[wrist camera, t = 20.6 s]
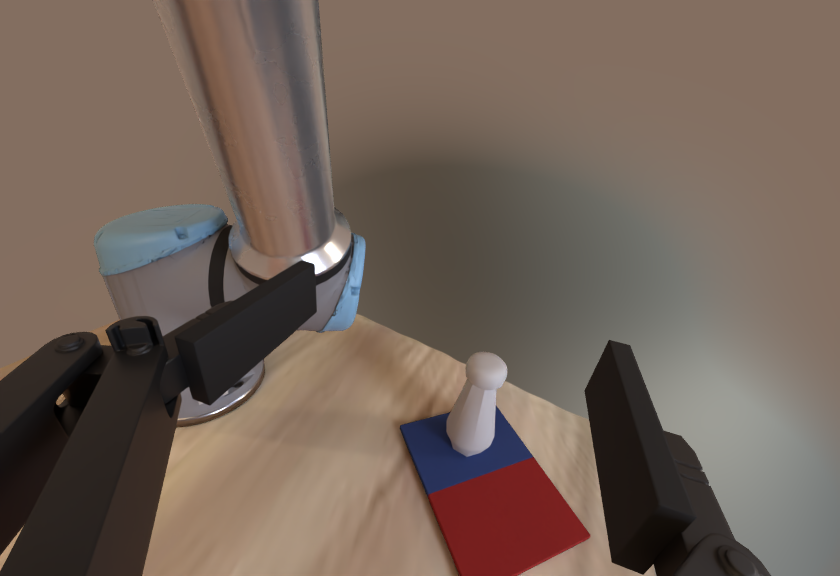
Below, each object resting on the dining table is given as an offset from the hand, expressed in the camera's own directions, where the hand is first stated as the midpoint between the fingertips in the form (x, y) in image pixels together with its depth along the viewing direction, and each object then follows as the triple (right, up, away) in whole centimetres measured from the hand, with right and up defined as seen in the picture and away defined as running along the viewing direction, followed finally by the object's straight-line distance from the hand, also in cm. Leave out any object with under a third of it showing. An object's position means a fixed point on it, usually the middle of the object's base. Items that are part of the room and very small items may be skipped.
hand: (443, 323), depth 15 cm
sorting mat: (+6, -20, +23) cm, 31 cm away
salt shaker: (+5, -18, +27) cm, 32 cm away
